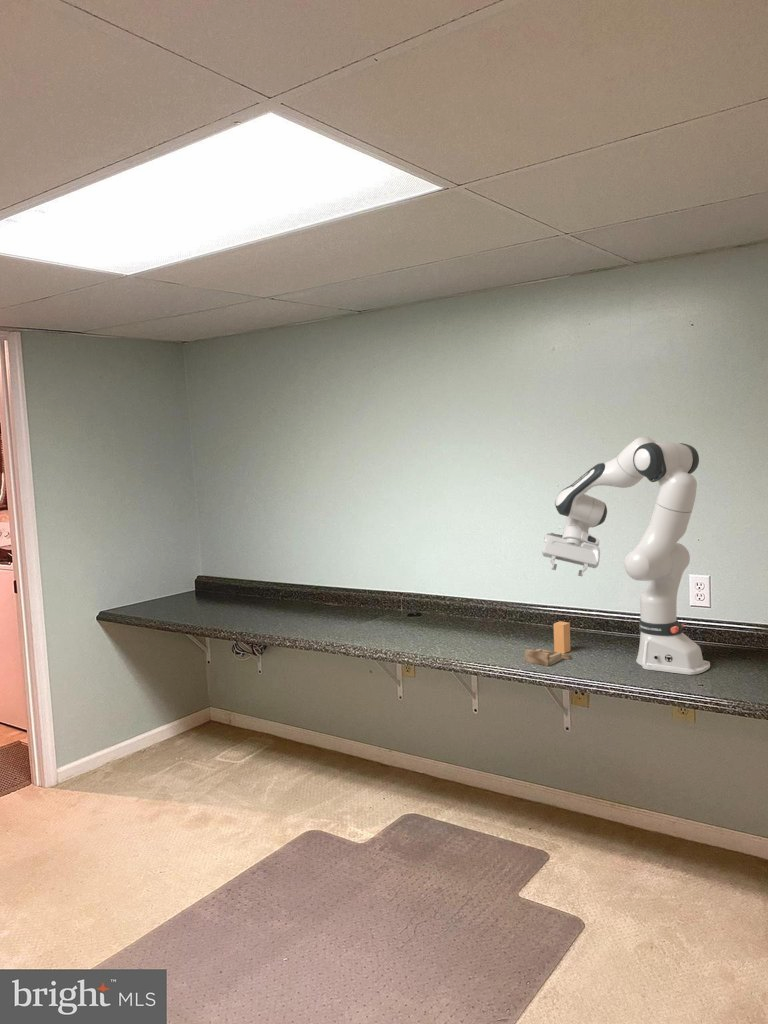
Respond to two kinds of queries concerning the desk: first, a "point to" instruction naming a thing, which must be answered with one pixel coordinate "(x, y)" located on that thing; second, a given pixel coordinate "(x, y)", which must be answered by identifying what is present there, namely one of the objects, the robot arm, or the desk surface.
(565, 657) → the door edge strip
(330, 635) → the desk surface
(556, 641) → the block
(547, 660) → the index bracket
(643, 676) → the desk surface
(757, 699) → the desk surface
